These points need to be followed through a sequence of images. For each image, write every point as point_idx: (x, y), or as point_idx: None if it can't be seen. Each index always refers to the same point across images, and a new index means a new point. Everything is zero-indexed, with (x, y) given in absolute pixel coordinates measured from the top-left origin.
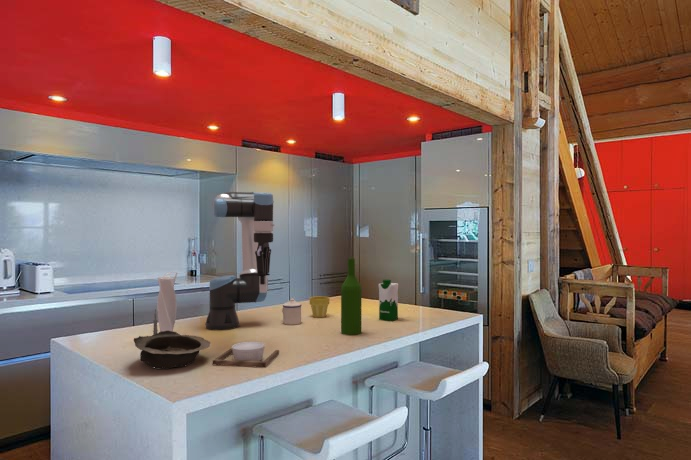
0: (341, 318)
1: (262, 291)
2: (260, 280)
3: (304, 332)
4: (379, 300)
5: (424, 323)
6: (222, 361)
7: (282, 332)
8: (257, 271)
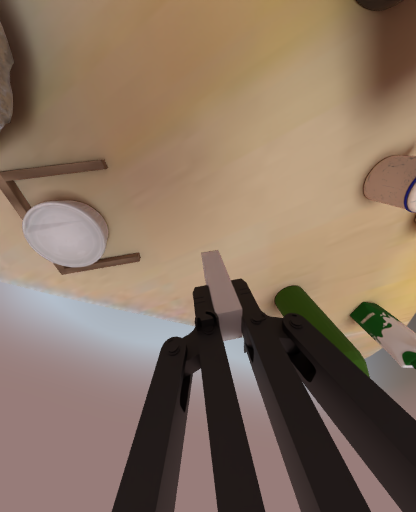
0: (298, 304)
1: (203, 267)
2: (194, 305)
3: (292, 236)
4: (393, 325)
5: None
6: (8, 197)
7: (294, 195)
8: (155, 370)
